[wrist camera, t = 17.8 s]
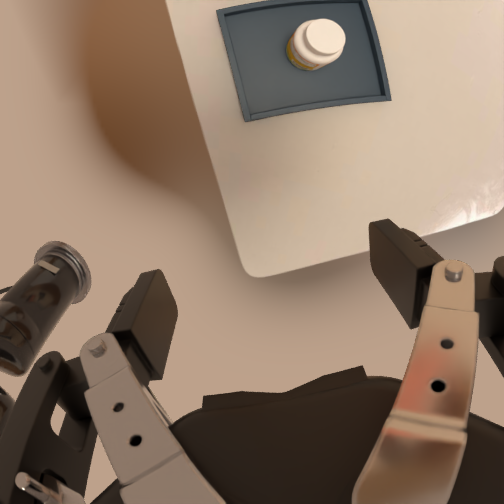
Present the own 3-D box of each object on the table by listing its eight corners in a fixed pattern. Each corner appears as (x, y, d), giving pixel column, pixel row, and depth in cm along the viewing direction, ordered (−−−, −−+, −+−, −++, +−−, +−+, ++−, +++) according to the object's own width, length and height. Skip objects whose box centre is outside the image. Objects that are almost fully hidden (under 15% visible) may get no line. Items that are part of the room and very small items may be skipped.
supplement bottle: (321, 31, 30) (344, 11, 21) (331, 68, 32) (358, 58, 23) (280, 36, 30) (292, 14, 21) (290, 74, 32) (306, 63, 24)
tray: (244, 121, 36) (245, 122, 34) (217, 14, 29) (216, 10, 27) (385, 100, 34) (391, 100, 32) (360, -1, 27) (365, -5, 25)
